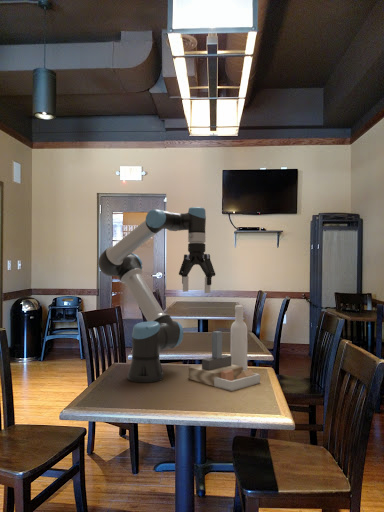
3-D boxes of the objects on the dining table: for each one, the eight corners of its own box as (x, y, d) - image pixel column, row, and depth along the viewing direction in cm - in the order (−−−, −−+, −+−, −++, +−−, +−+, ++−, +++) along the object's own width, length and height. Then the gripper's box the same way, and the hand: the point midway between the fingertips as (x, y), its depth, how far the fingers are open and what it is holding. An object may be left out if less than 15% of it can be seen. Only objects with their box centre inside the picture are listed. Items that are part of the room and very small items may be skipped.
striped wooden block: (188, 378, 178) (188, 367, 178) (217, 372, 190) (217, 361, 190) (214, 386, 167) (214, 373, 167) (243, 378, 179) (243, 366, 179)
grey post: (201, 368, 175) (202, 332, 175) (224, 363, 184) (224, 329, 185) (208, 370, 172) (209, 333, 172) (231, 365, 181) (231, 330, 182)
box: (214, 386, 167) (214, 377, 167) (243, 378, 179) (243, 370, 179) (231, 391, 160) (231, 382, 160) (259, 382, 173) (260, 374, 173)
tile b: (243, 371, 169) (246, 376, 168) (251, 369, 172) (254, 374, 171) (236, 377, 172) (239, 382, 170) (243, 375, 175) (246, 380, 174)
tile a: (220, 371, 168) (225, 372, 166) (228, 369, 172) (233, 370, 170) (220, 384, 168) (225, 385, 166) (228, 381, 172) (233, 383, 170)
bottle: (248, 369, 195) (248, 305, 196) (246, 373, 188) (247, 306, 189) (231, 368, 197) (231, 304, 198) (228, 372, 190) (229, 306, 191)
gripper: (171, 243, 187) (170, 291, 187) (211, 241, 169) (211, 293, 168) (183, 244, 192) (183, 290, 192) (224, 242, 174) (223, 293, 174)
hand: (196, 292), depth 180 cm, fingers open, 13 cm apart
